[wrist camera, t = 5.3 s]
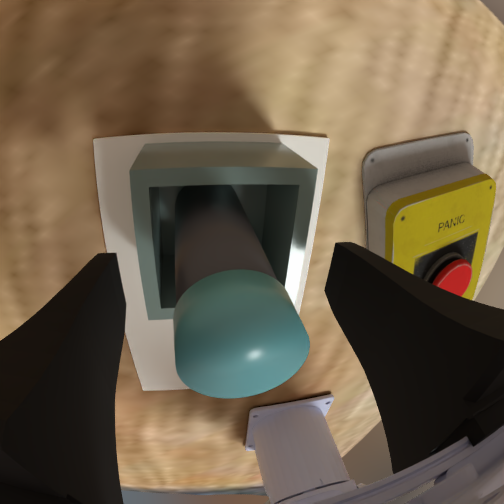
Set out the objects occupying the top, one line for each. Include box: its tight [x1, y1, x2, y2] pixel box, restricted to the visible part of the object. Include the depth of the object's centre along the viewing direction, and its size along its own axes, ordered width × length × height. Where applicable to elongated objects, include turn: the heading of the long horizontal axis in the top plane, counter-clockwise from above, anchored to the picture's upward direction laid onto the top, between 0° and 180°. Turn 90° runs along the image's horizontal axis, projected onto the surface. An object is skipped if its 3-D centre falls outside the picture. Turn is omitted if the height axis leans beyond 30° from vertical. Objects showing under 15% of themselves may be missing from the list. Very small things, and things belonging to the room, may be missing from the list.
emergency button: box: [362, 132, 496, 300], centre depth 18 cm, size 9×4×15 cm
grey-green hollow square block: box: [129, 141, 318, 320], centre depth 13 cm, size 6×6×4 cm
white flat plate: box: [93, 132, 330, 391], centre depth 18 cm, size 18×11×1 cm, turn 176°
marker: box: [173, 185, 310, 398], centre depth 11 cm, size 3×3×9 cm
